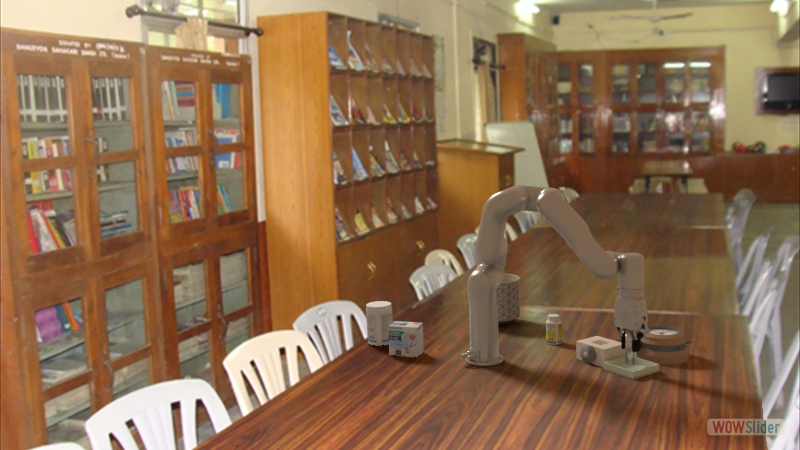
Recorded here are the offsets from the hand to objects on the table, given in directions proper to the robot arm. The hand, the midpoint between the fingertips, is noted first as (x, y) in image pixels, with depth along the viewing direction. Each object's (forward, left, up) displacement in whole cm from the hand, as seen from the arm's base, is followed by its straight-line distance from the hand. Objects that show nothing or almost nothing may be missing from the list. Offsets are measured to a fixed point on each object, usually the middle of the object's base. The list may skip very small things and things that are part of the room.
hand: (630, 349), depth 245 cm
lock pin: (0, 0, -4) cm, 4 cm away
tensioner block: (+1, +14, -7) cm, 15 cm away
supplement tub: (-45, +77, -7) cm, 89 cm away
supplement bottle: (+3, +37, -7) cm, 38 cm away
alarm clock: (+18, +6, -7) cm, 20 cm away
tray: (0, 0, -7) cm, 7 cm away
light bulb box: (-45, +60, -7) cm, 75 cm away
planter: (+5, +71, -7) cm, 72 cm away
